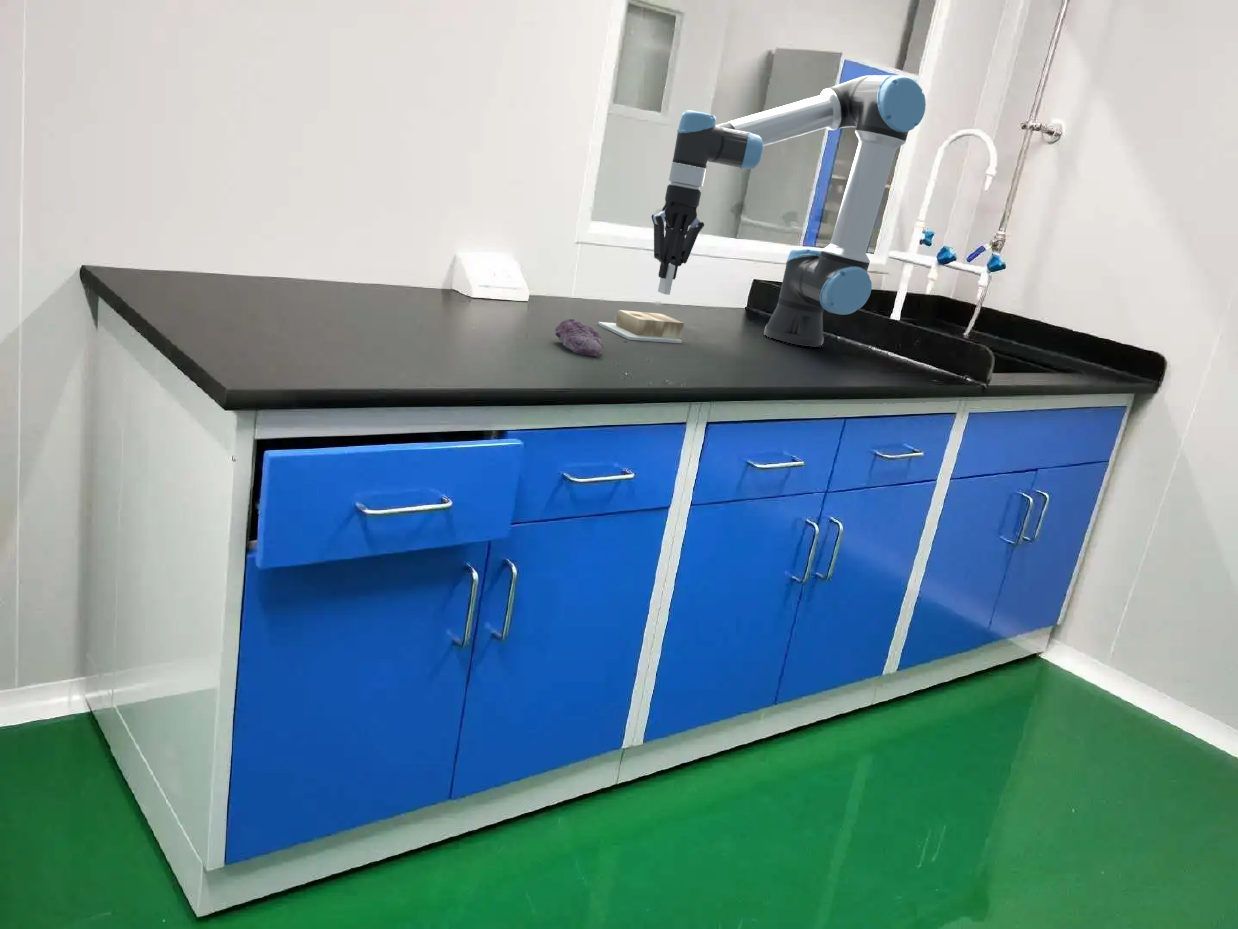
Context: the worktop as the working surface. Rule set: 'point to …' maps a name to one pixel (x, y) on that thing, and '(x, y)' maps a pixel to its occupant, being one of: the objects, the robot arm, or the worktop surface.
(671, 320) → the slab
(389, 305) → the worktop surface
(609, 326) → the mat
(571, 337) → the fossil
